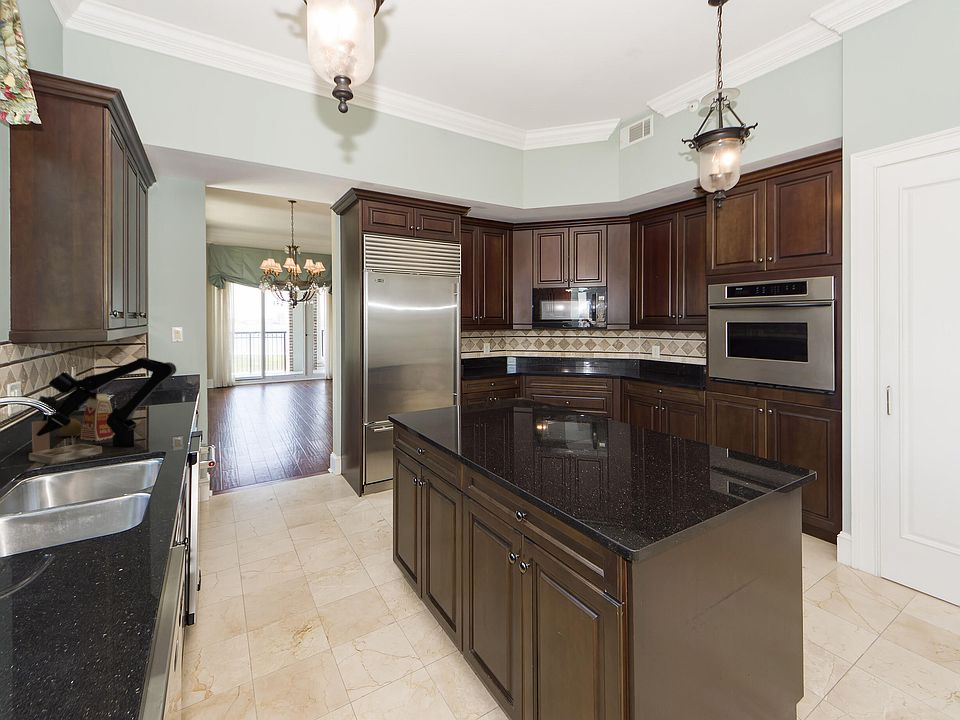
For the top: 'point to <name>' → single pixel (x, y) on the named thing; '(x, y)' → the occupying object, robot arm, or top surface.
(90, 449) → the beige tray
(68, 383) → the robot arm
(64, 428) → the potato
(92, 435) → the milk carton
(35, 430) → the pink rectangular block
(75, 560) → the top surface
